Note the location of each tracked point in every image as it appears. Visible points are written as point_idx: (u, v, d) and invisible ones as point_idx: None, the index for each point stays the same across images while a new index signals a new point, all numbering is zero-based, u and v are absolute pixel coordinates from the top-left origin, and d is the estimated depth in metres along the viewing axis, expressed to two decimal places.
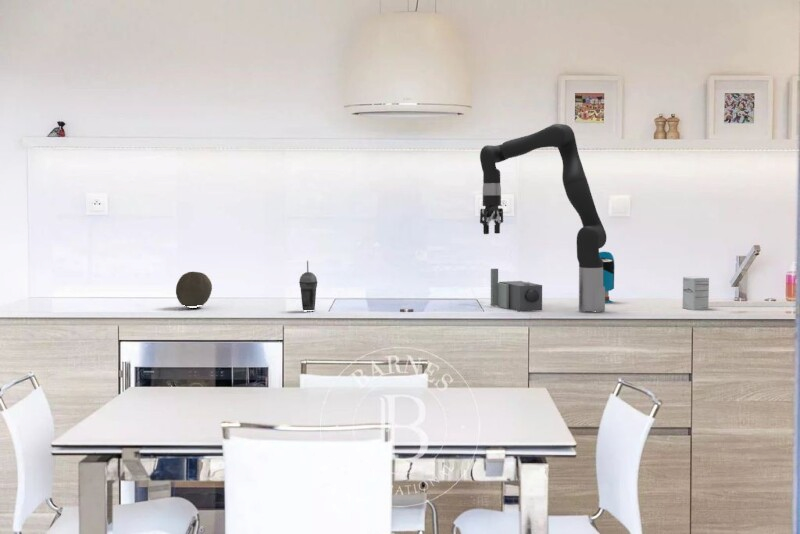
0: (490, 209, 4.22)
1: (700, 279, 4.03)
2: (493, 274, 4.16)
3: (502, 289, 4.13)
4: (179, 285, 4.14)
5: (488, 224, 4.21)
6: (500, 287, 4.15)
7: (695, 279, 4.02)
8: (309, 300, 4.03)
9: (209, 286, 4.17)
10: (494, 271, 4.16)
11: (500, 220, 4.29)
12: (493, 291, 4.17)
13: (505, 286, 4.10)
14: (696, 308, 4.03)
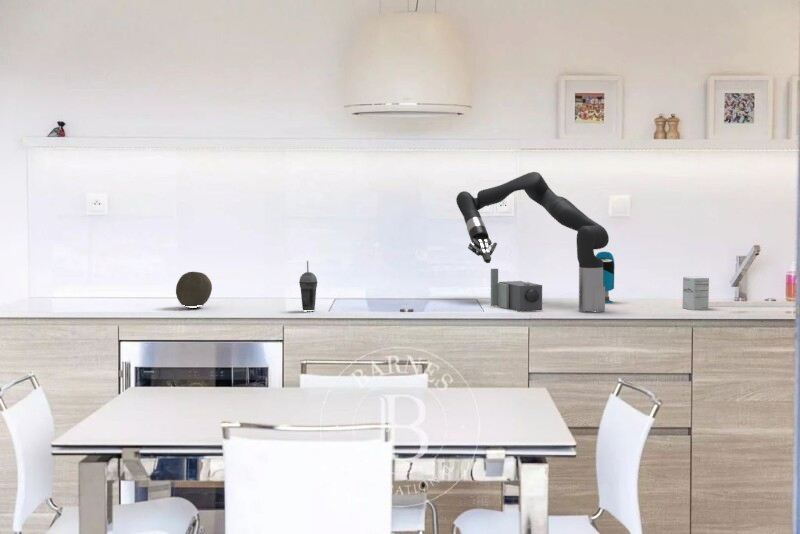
0: None
1: (700, 279, 4.03)
2: (493, 274, 4.16)
3: (502, 289, 4.13)
4: (179, 285, 4.14)
5: None
6: (500, 287, 4.15)
7: (695, 279, 4.02)
8: (309, 300, 4.03)
9: (209, 286, 4.17)
10: (494, 271, 4.16)
11: None
12: (493, 291, 4.17)
13: (505, 286, 4.10)
14: (696, 308, 4.03)
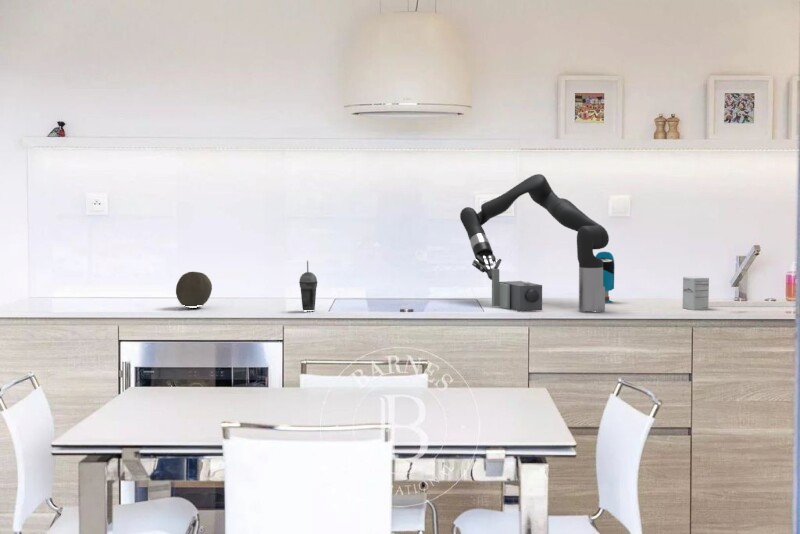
0: None
1: (700, 279, 4.03)
2: (494, 274, 4.15)
3: (503, 289, 4.12)
4: (179, 285, 4.14)
5: None
6: (501, 287, 4.14)
7: (695, 279, 4.02)
8: (309, 300, 4.03)
9: (209, 286, 4.17)
10: (495, 271, 4.15)
11: None
12: (494, 291, 4.16)
13: (506, 286, 4.09)
14: (696, 308, 4.03)
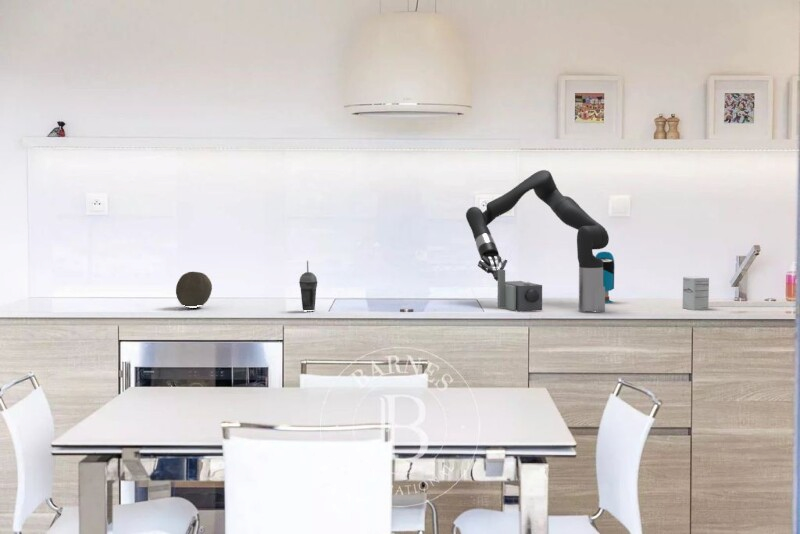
0: None
1: (700, 279, 4.03)
2: (500, 275, 4.10)
3: (509, 291, 4.07)
4: (179, 285, 4.14)
5: None
6: (507, 288, 4.09)
7: (695, 279, 4.02)
8: (309, 300, 4.03)
9: (209, 286, 4.17)
10: (501, 272, 4.10)
11: None
12: (500, 293, 4.10)
13: (512, 288, 4.04)
14: (696, 308, 4.03)
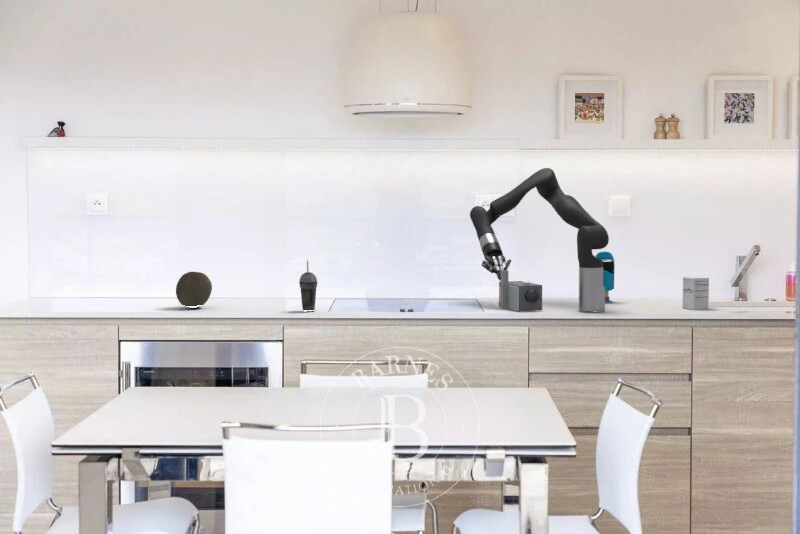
0: None
1: (700, 279, 4.03)
2: (503, 276, 4.07)
3: (512, 291, 4.04)
4: (179, 285, 4.14)
5: None
6: (510, 289, 4.06)
7: (695, 279, 4.02)
8: (309, 300, 4.03)
9: (209, 286, 4.17)
10: (504, 273, 4.07)
11: None
12: (503, 293, 4.07)
13: (516, 288, 4.01)
14: (696, 308, 4.03)
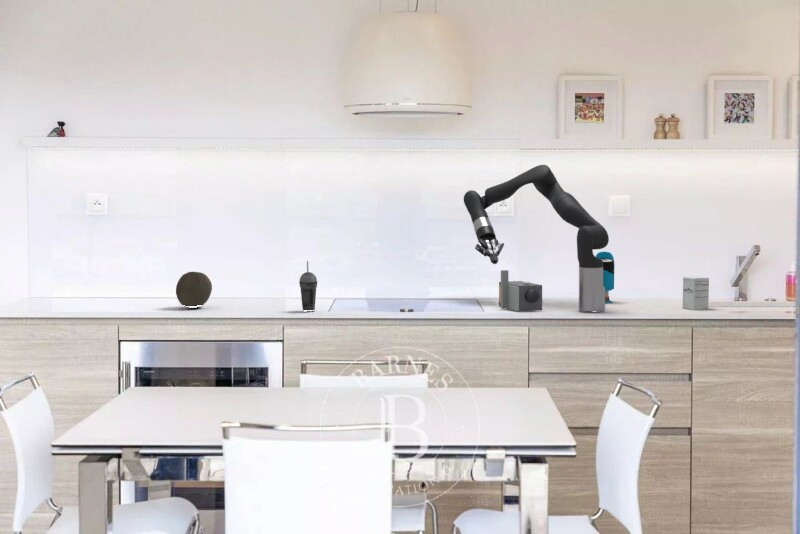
0: None
1: (700, 279, 4.03)
2: (503, 276, 4.07)
3: (512, 291, 4.04)
4: (179, 285, 4.14)
5: None
6: (510, 289, 4.06)
7: (695, 279, 4.02)
8: (309, 300, 4.03)
9: (209, 286, 4.17)
10: (504, 273, 4.07)
11: None
12: (503, 293, 4.07)
13: (516, 288, 4.01)
14: (696, 308, 4.03)
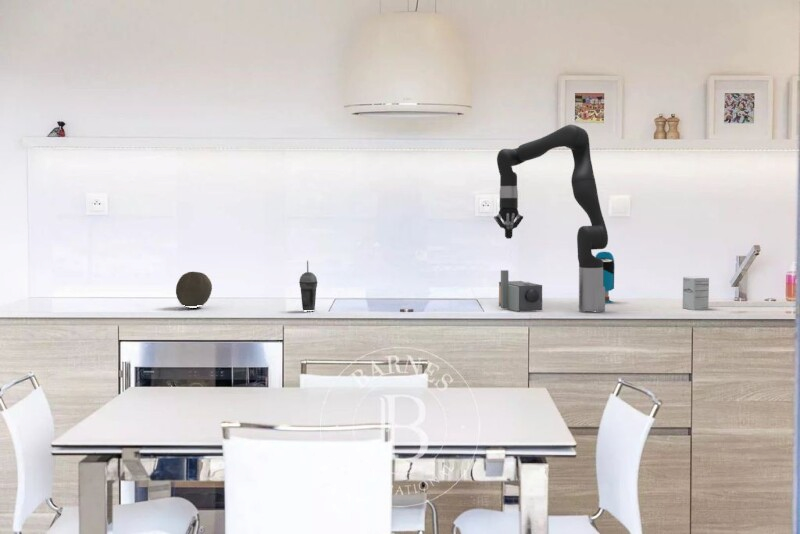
0: None
1: (700, 279, 4.03)
2: (503, 276, 4.07)
3: (512, 291, 4.04)
4: (179, 285, 4.14)
5: None
6: (510, 289, 4.06)
7: (695, 279, 4.02)
8: (309, 300, 4.03)
9: (209, 286, 4.17)
10: (504, 273, 4.07)
11: None
12: (503, 293, 4.07)
13: (516, 288, 4.01)
14: (696, 308, 4.03)
